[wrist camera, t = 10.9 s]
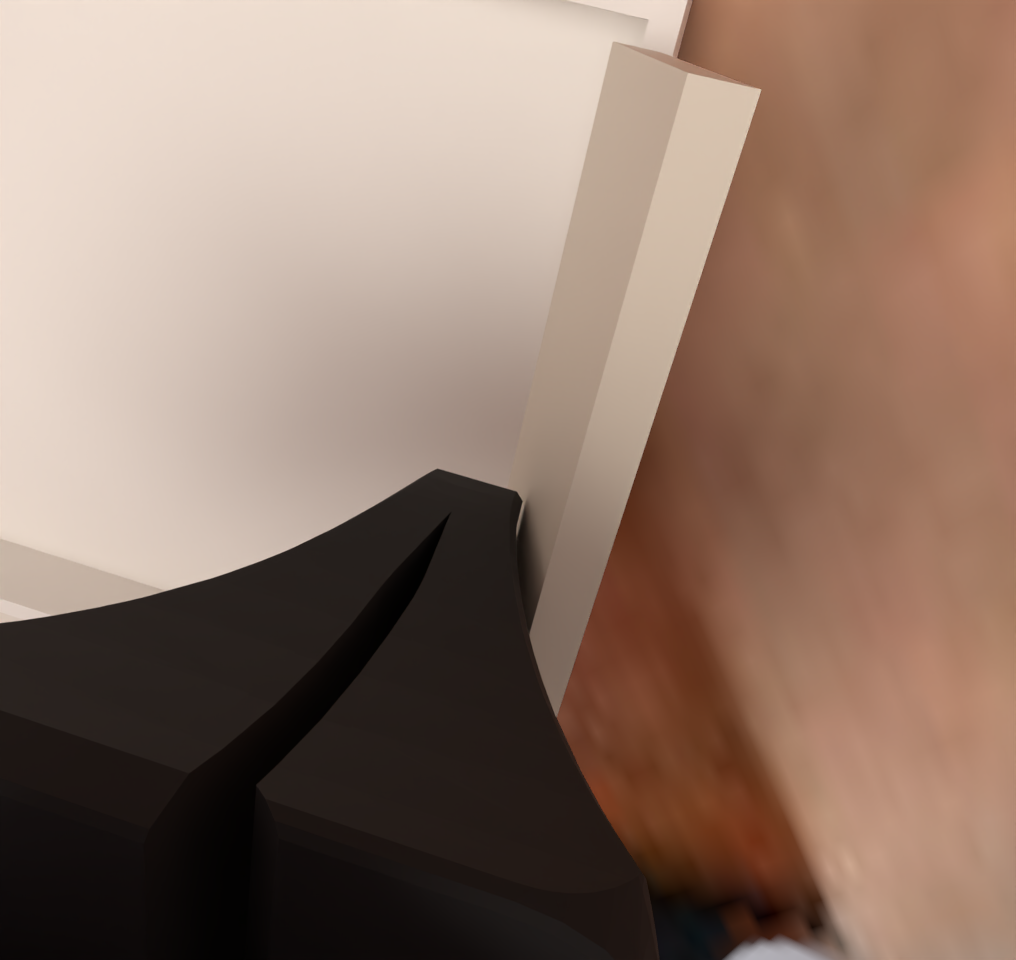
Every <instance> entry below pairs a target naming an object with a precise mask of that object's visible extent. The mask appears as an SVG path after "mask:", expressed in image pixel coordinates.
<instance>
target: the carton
mask: <svg viewBox="0 0 1016 960" xmlns="http://www.w3.org/2000/svg"><path fill="white" fill-rule="evenodd" d="M692 2H693V0H0V623H5V622H13V621H22V620H28V619H35V618H41V617H47V616H54V615H59V614H65V613H70V612H76V611H81V610H86V609H92V608H97V607H102V606H106V605H111V604H116V603H120V602H125V601H130V600H134V599H138V598H142V597H146V596H150V595H153V594H157V593H161V592H164V591H168V590H171V589H175V588H179V587H182V586H186V585H189V584H193V583H196V582H200V581H204V580H207V579H211V578H214V577H217V576H220V575H223V574H226V573H229V572H232V571H235V570H237V569H240V568H243V567H246V566H248V565H251V564H254V563H257V562H259V561H262V560H265V559H267V558H270V557H272V556H275V555H277V554H280V553H282V552H284V551H287V550H289V549H291V548H293V547H296V546H298V545H300V544H302V543H304V542H306V541H308V540H310V539H312V538H314V537H316V536H318V535H320V534H322V533H324V532H327V531H329V530H331V529H333V528H335V527H336V526H338V525H340V524H342V523H344V522H346V521H348V520H349V519H351V518H353V517H355V516H356V515H358V514H360V513H362V512H364V511H365V510H367V509H369V508H371V507H373V506H374V505H376V504H378V503H380V502H381V501H383V500H385V499H386V498H388V497H390V496H391V495H393V494H395V493H396V492H398V491H399V490H401V489H403V488H404V487H406V486H408V485H409V484H411V483H413V482H414V481H416V480H417V479H419V478H421V477H422V476H424V475H426V474H428V473H429V472H431V471H433V470H435V469H437V468H438V469H441V470H444V471H448V472H451V473H455V474H458V475H462V476H465V477H469V478H472V479H476V480H479V481H482V482H486V483H489V484H493V485H496V486H500V487H503V488H507V486H508V482H509V478H510V474H511V469H512V465H513V461H514V457H515V453H516V448H517V444H518V440H519V436H520V431H521V427H522V423H523V419H524V415H525V410H526V406H527V402H528V398H529V393H530V389H531V385H532V381H533V376H534V372H535V368H536V364H537V360H538V355H539V351H540V347H541V343H542V338H543V334H544V330H545V326H546V322H547V317H548V313H549V309H550V305H551V300H552V296H553V292H554V288H555V284H556V279H557V275H558V271H559V267H560V262H561V258H562V254H563V250H564V246H565V241H566V237H567V233H568V229H569V224H570V220H571V216H572V212H573V207H574V203H575V199H576V195H577V191H578V186H579V182H580V178H581V174H582V169H583V165H584V161H585V157H586V153H587V148H588V144H589V140H590V136H591V131H592V127H593V123H594V119H595V115H596V110H597V106H598V102H599V98H600V93H601V89H602V85H603V81H604V76H605V72H606V68H607V64H608V60H609V55H610V51H611V47H612V43H613V41H614V42H618V43H623V44H627V45H631V46H636V47H640V48H644V49H649V50H653V51H657V52H661V53H664V54H667V55H670V56H672V57H675V58H677V57H678V53H679V49H680V46H681V42H682V38H683V35H684V31H685V27H686V24H687V20H688V16H689V13H690V9H691V5H692Z"/></svg>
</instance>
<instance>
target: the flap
mask: <svg viewBox="0 0 1016 960" xmlns="http://www.w3.org/2000/svg"><path fill="white" fill-rule="evenodd" d="M760 93H761V89H758V88H756V87H753V86H750V85H748V84H745V83H742V82H739V81H737V80H734V79H731V78H729V77H726V76H723V75H721V74H718V73H715V72H713V71H710V70H707V69H705V68H702V67H699V66H696V65H694V64H691V63H688V62H686V61H683V60H680V59H678V58H675V57H672V56H670V55H667V54H664V53H661V52H657V51H653V50H649V49H644V48H640V47H636V46H631V45H627V44H623V43H618V42H614V41H613V43H612V47H611V51H610V55H609V60H608V64H607V68H606V72H605V76H604V81H603V85H602V89H601V93H600V98H599V102H598V106H597V110H596V115H595V119H594V123H593V127H592V131H591V136H590V140H589V144H588V148H587V153H586V157H585V161H584V165H583V169H582V174H581V178H580V182H579V186H578V191H577V195H576V199H575V203H574V207H573V212H572V216H571V220H570V224H569V229H568V233H567V237H566V241H565V246H564V250H563V254H562V258H561V262H560V267H559V271H558V275H557V279H556V284H555V288H554V292H553V296H552V300H551V305H550V309H549V313H548V317H547V322H546V326H545V330H544V334H543V338H542V343H541V347H540V351H539V355H538V360H537V364H536V368H535V372H534V376H533V381H532V385H531V389H530V393H529V398H528V402H527V406H526V410H525V415H524V419H523V423H522V427H521V431H520V436H519V440H518V444H517V448H516V453H515V457H514V461H513V465H512V469H511V474H510V478H509V482H508V486H507V489H510V490H513V491H517V492H518V494H519V496H520V497H521V499H522V501H523V502H522V506H521V510H520V514H519V518H518V522H517V529H516V550H517V564H518V573H519V583H520V591H521V597H522V603H523V608H524V613H525V618H526V623H527V628H528V632H529V636H530V640H531V644H532V648H533V652H534V655H535V658H536V662H537V665H538V668H539V671H540V674H541V678H542V681H543V683H544V686H545V689H546V692H547V694H548V697H549V700H550V703H551V705H552V708H553V711H554V713H555V716H556V718H557V715H558V712H559V709H560V705H561V702H562V699H563V696H564V693H565V690H566V687H567V684H568V681H569V678H570V675H571V672H572V669H573V666H574V663H575V659H576V656H577V653H578V650H579V647H580V644H581V641H582V638H583V635H584V632H585V629H586V626H587V623H588V620H589V617H590V614H591V610H592V607H593V604H594V601H595V598H596V595H597V592H598V589H599V586H600V583H601V580H602V577H603V574H604V571H605V568H606V565H607V561H608V558H609V555H610V552H611V549H612V546H613V543H614V540H615V537H616V534H617V531H618V528H619V525H620V522H621V519H622V516H623V512H624V509H625V506H626V503H627V500H628V497H629V494H630V491H631V488H632V485H633V482H634V479H635V476H636V473H637V470H638V467H639V463H640V460H641V457H642V454H643V451H644V448H645V445H646V442H647V439H648V436H649V433H650V430H651V427H652V424H653V421H654V417H655V414H656V411H657V408H658V405H659V402H660V399H661V396H662V393H663V390H664V387H665V384H666V381H667V378H668V375H669V372H670V368H671V365H672V362H673V359H674V356H675V353H676V350H677V347H678V344H679V341H680V338H681V335H682V332H683V329H684V326H685V323H686V319H687V316H688V313H689V310H690V307H691V304H692V301H693V298H694V295H695V292H696V289H697V286H698V283H699V280H700V277H701V274H702V270H703V267H704V264H705V261H706V258H707V255H708V252H709V249H710V246H711V243H712V240H713V237H714V234H715V231H716V228H717V225H718V221H719V218H720V215H721V212H722V209H723V206H724V203H725V200H726V197H727V194H728V191H729V188H730V185H731V182H732V179H733V175H734V172H735V169H736V166H737V163H738V160H739V157H740V154H741V151H742V148H743V145H744V142H745V139H746V136H747V133H748V130H749V126H750V123H751V120H752V117H753V114H754V111H755V108H756V105H757V102H758V99H759V96H760Z"/></svg>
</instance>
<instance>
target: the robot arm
mask: <svg viewBox="0 0 1016 960" xmlns="http://www.w3.org/2000/svg"><path fill="white" fill-rule="evenodd" d="M522 502H523V501H522V499H521V497H520V496H519V494H518V492H517V491H513V490H510V489H507V488H503V487H500V486H496V485H493V484H489V483H486V482H482V481H479V480H476V479H472V478H469V477H465V476H462V475H458V474H455V473H451V472H448V471H444V470H441V469H438V468H437V469H435V470H433V471H431V472H429V473H428V474H426V475H424V476H422V477H421V478H419V479H417V480H416V481H414V482H413V483H411V484H409V485H408V486H406V487H404V488H403V489H401V490H399V491H398V492H396V493H395V494H393V495H391V496H390V497H388V498H386V499H385V500H383V501H381V502H380V503H378V504H376V505H374V506H373V507H371V508H369V509H367V510H365V511H364V512H362V513H360V514H358V515H356V516H355V517H353V518H351V519H349V520H348V521H346V522H344V523H342V524H340V525H338V526H336V527H335V528H333V529H331V530H329V531H327V532H324V533H322V534H320V535H318V536H316V537H314V538H312V539H310V540H308V541H306V542H304V543H302V544H300V545H298V546H296V547H293V548H291V549H289V550H287V551H284V552H282V553H280V554H277V555H275V556H272V557H270V558H267V559H265V560H262V561H259V562H257V563H254V564H251V565H248V566H246V567H243V568H240V569H237V570H235V571H232V572H229V573H226V574H223V575H220V576H217V577H214V578H211V579H207V580H204V581H200V582H196V583H193V584H189V585H186V586H182V587H179V588H175V589H171V590H168V591H164V592H161V593H157V594H153V595H150V596H146V597H142V598H138V599H134V600H130V601H125V602H120V603H116V604H111V605H106V606H102V607H97V608H92V609H86V610H81V611H76V612H70V613H65V614H59V615H54V616H47V617H41V618H35V619H28V620H22V621H13V622H5V623H0V960H659V953H658V946H657V939H656V931H655V925H654V919H653V913H652V908H651V902H650V896H649V891H648V886H647V881H646V878H645V877H644V875H643V874H642V872H641V871H640V869H639V868H638V866H637V865H636V863H635V862H634V860H633V858H632V857H631V855H630V854H629V852H628V851H627V849H626V848H625V846H624V845H623V843H622V842H621V840H620V839H619V837H618V836H617V834H616V832H615V831H614V829H613V827H612V826H611V824H610V822H609V821H608V819H607V817H606V816H605V814H604V813H603V811H602V809H601V807H600V805H599V804H598V802H597V800H596V798H595V796H594V794H593V793H592V791H591V789H590V787H589V785H588V783H587V781H586V780H585V778H584V776H583V774H582V772H581V770H580V768H579V766H578V764H577V762H576V759H575V757H574V755H573V753H572V751H571V748H570V746H569V744H568V742H567V740H566V738H565V735H564V733H563V731H562V729H561V727H560V724H559V722H558V720H557V718H556V716H555V713H554V711H553V708H552V705H551V703H550V700H549V697H548V694H547V692H546V689H545V686H544V683H543V681H542V678H541V674H540V671H539V668H538V665H537V662H536V658H535V655H534V652H533V648H532V644H531V640H530V636H529V632H528V628H527V623H526V618H525V613H524V608H523V603H522V597H521V591H520V583H519V573H518V564H517V550H516V529H517V522H518V518H519V514H520V510H521V506H522Z"/></svg>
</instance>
